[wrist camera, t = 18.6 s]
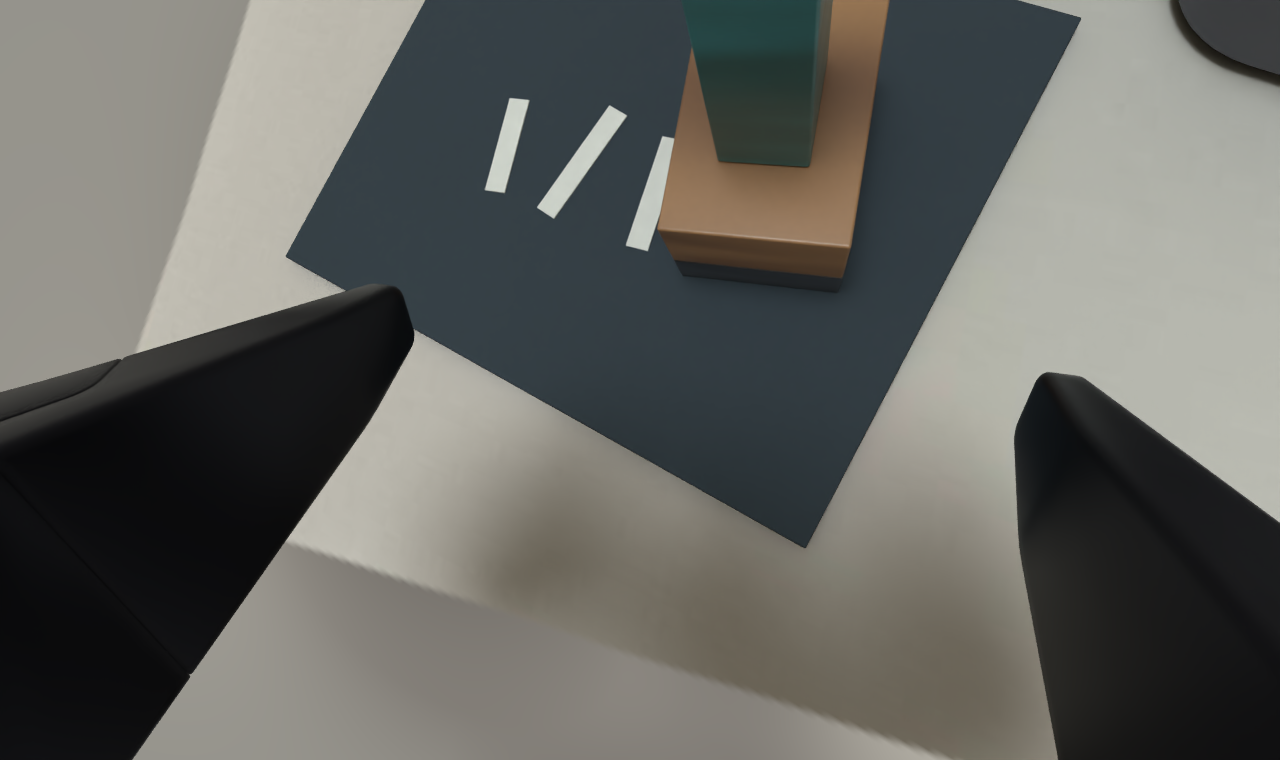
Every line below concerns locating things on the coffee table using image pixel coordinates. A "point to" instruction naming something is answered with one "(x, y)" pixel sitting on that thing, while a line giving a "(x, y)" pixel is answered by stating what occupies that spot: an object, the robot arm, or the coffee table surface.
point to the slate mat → (632, 246)
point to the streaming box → (1239, 29)
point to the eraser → (772, 139)
